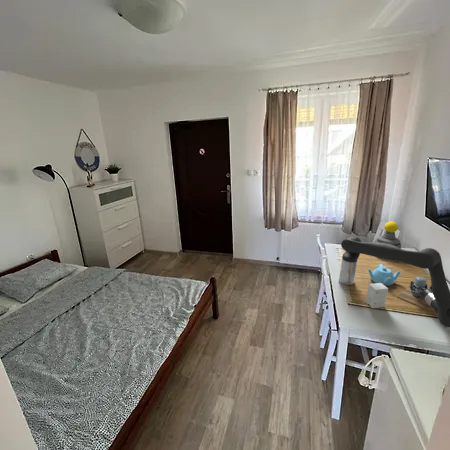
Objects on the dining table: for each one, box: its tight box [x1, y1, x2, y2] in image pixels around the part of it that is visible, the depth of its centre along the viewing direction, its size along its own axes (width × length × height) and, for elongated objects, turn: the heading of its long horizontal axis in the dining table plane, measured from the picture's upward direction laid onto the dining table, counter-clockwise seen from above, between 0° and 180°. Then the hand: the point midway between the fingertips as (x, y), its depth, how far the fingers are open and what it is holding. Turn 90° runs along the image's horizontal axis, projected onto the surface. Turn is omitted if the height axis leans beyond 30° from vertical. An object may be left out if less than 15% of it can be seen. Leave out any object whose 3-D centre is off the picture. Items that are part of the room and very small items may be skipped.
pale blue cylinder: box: [412, 276, 427, 297], centre depth 153 cm, size 6×6×11 cm
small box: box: [365, 282, 389, 309], centre depth 147 cm, size 8×6×13 cm
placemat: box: [396, 284, 429, 309], centre depth 155 cm, size 20×14×1 cm
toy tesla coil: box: [374, 221, 402, 261], centre depth 204 cm, size 19×19×30 cm
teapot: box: [367, 263, 401, 287], centre depth 171 cm, size 15×15×11 cm
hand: (417, 282), depth 155 cm, fingers open, 5 cm apart
